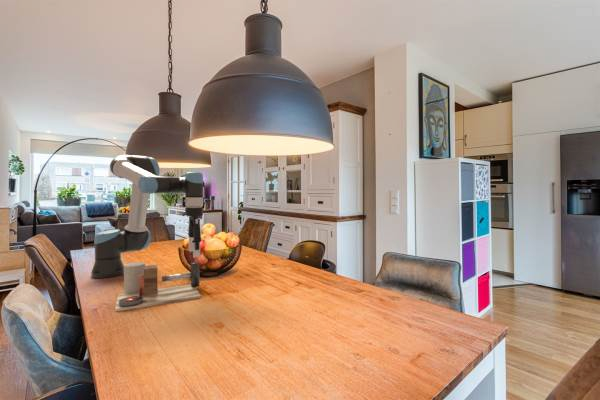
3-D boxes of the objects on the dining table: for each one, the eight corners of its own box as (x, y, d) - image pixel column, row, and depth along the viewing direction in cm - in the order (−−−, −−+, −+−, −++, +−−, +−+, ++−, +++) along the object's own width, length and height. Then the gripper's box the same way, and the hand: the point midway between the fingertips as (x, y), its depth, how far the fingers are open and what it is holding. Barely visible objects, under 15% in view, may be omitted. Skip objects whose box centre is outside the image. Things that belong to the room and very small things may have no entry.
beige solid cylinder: (120, 292, 132) (119, 265, 131) (137, 287, 139) (137, 261, 139) (132, 295, 128) (131, 267, 128) (149, 290, 135) (148, 263, 135)
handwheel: (135, 296, 122) (135, 273, 122) (151, 298, 120) (151, 275, 120) (113, 305, 113) (113, 280, 113) (130, 307, 110) (129, 282, 110)
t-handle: (162, 289, 132) (161, 265, 132) (198, 284, 139) (198, 261, 139) (162, 291, 129) (162, 267, 128) (200, 286, 136) (199, 263, 135)
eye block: (118, 296, 126) (117, 268, 126) (194, 286, 140) (193, 260, 140) (115, 311, 110) (114, 278, 110) (200, 298, 124) (200, 268, 124)
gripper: (181, 205, 145) (182, 249, 146) (189, 208, 123) (189, 260, 124) (198, 205, 148) (198, 248, 149) (208, 208, 126) (208, 259, 127)
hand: (194, 254), depth 136 cm, fingers open, 13 cm apart
